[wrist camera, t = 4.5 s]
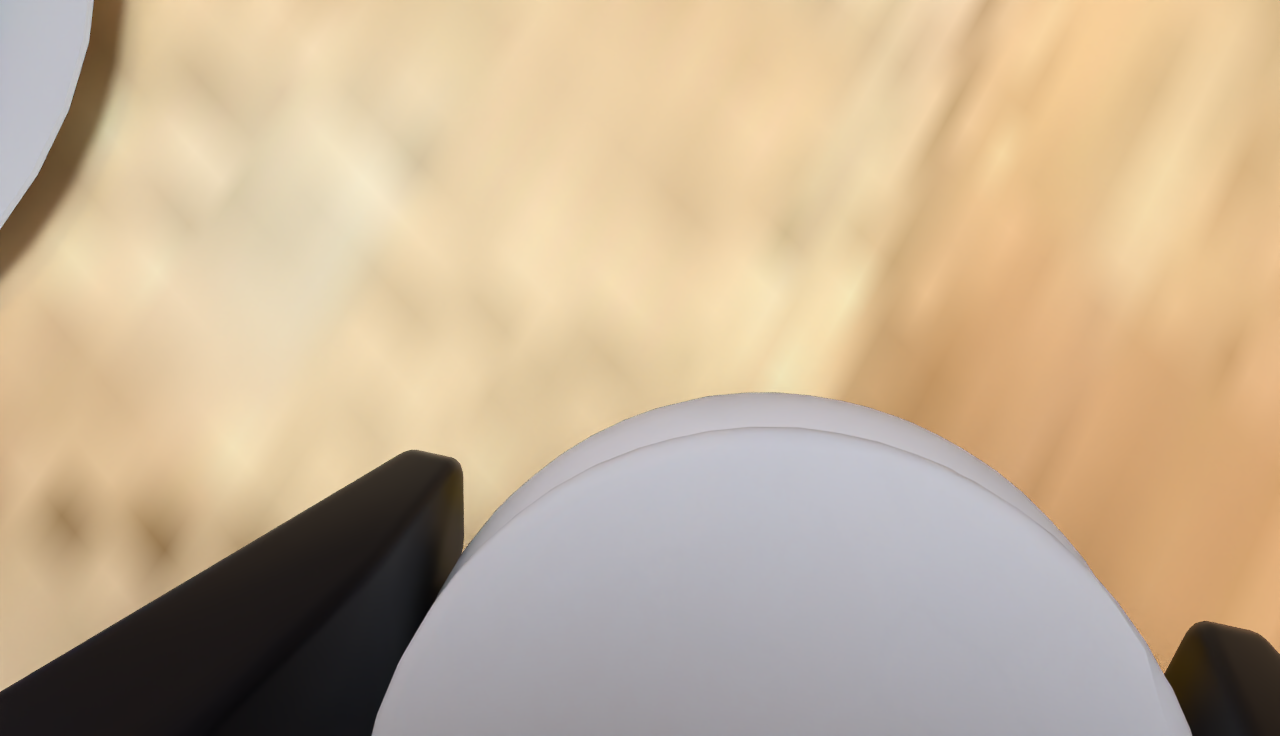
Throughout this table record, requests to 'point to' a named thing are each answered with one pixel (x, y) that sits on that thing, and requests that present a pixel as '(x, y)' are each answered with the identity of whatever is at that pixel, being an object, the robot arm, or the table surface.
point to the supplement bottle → (774, 594)
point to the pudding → (36, 84)
